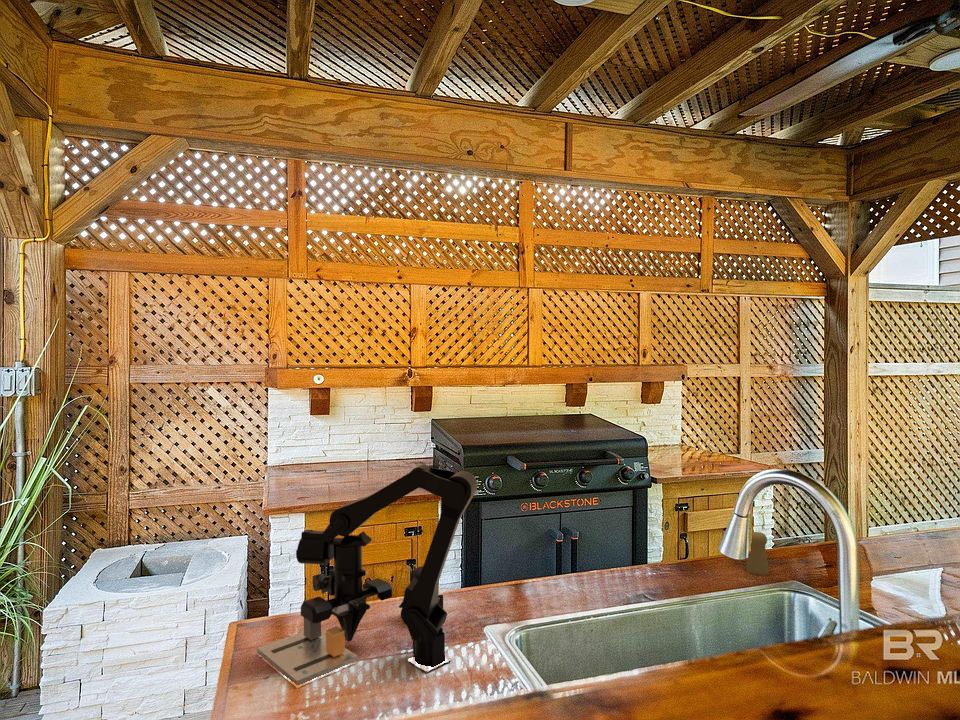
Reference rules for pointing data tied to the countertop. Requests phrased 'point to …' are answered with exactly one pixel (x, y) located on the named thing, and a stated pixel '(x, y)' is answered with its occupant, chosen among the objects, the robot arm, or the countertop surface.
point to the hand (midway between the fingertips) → (348, 640)
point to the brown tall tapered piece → (758, 555)
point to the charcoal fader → (312, 629)
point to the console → (303, 657)
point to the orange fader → (335, 641)
